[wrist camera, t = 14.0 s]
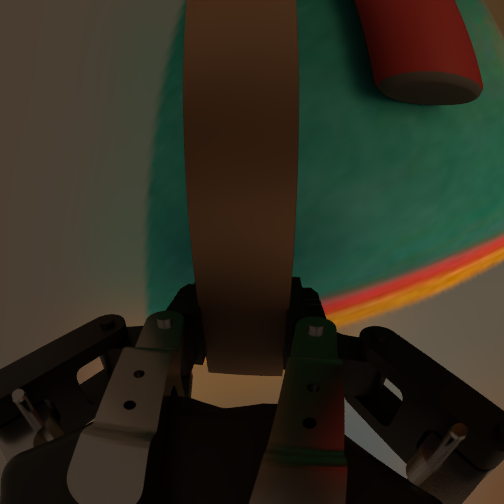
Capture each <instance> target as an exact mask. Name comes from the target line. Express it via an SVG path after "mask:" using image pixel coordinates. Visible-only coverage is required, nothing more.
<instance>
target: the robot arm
mask: <svg viewBox="0 0 504 504" xmlns="http://www.w3.org/2000/svg"><path fill="white" fill-rule="evenodd" d="M206 354H207V350H206V344H205V337H204V330H203V323H202V316H201V309H200V306H198V300H197V292H196V284H195V283H194V284H187V285H186V286H184V287H182V288H181V289H180V290H179V292H178V293H177V295H176V296H175V298H174V300H173V301H172V302H171V303H170V305H169V306H168V308H167V309H166V311H160V312H156V313H154V314H152V315H150V316H149V317H148V318H147V319H146V322H145V324H144V326H134V327H126V323H125V320H124V318H123V317H121V316H119V315H114V314H110V315H104V316H101V317H98V318H96V319H94V320H92V321H90V322H89V323H87V324H85V325H83V326H81V327H79V328H77V329H75V330H73V331H71V332H69V333H67V334H66V335H64V336H62V337H60V338H58V339H56V340H54V341H52V342H50V343H49V344H47V345H45V346H43V347H41V348H39V349H37V350H36V351H34V352H32V353H30V354H28V355H26V356H24V357H22V358H21V359H19V360H17V361H15V362H13V363H11V364H10V365H8V366H6V367H4V368H2V369H0V448H1V450H2V452H3V454H4V456H5V458H6V459H7V461H8V463H7V464H6V466H5V468H4V470H3V473H2V477H1V496H0V504H462V503H463V502H464V501H465V500H466V498H467V497H468V496H469V495H470V494H471V492H473V490H474V489H475V488H476V487H477V485H478V484H479V483H480V482H481V480H482V479H484V478H485V477H486V476H487V475H488V474H489V473H490V472H491V471H492V470H494V469H495V468H496V466H498V465H499V464H500V463H501V462H502V461H503V460H504V411H503V410H502V409H500V408H499V407H498V406H496V405H495V404H494V403H492V402H491V401H489V400H488V399H487V398H486V397H484V396H483V395H481V394H480V393H479V392H477V391H476V390H475V389H473V388H472V387H470V386H469V385H468V384H466V383H465V382H464V381H462V380H461V379H459V378H458V377H457V376H455V375H454V374H453V373H451V372H449V371H448V370H447V369H446V368H444V367H443V366H441V365H440V364H438V363H437V362H436V361H434V360H433V359H432V358H430V357H429V356H427V355H426V354H424V353H423V352H422V351H420V350H419V349H417V348H416V347H415V346H413V345H412V344H410V343H409V342H407V341H406V340H404V339H403V338H402V337H400V336H399V335H397V334H396V333H395V332H393V331H392V330H390V329H387V328H384V327H380V326H371V327H366V328H364V329H363V330H362V331H361V332H360V335H359V337H354V336H348V335H343V334H340V333H338V332H337V330H336V326H335V324H334V323H333V322H332V321H330V320H328V319H326V316H325V313H324V310H323V307H322V305H321V302H320V299H319V296H318V293H317V292H316V291H314V290H313V289H312V288H302V285H301V281H300V277H292V282H291V294H290V306H289V310H287V317H286V328H285V339H284V349H283V369H284V370H285V374H284V379H283V384H282V388H281V392H280V397H279V401H278V404H258V405H250V406H243V407H234V408H220V407H217V406H214V405H210V404H207V403H204V402H201V401H197V400H195V399H192V398H191V391H192V379H193V375H192V368H193V365H194V364H197V365H203V363H204V360H205V357H206ZM99 356H100V359H101V361H102V364H103V367H104V369H103V370H102V371H100V372H99V373H97V374H96V375H94V376H93V377H91V378H89V379H88V380H86V381H85V382H83V383H82V384H80V385H79V383H78V381H77V372H78V370H79V369H80V368H81V367H83V366H84V365H86V364H88V363H89V362H91V361H93V360H94V359H96V358H97V357H99ZM386 378H387V379H388V380H389V381H390V382H392V383H393V384H394V385H395V386H396V387H397V388H398V389H399V390H400V391H401V393H402V396H403V401H401V400H400V399H399V398H398V397H397V396H396V395H395V394H394V393H393V392H391V391H390V390H389V389H388V388H387V387H386V386H385V385H384V382H385V379H386ZM344 397H345V399H346V401H347V402H348V403H349V404H350V405H351V406H352V407H353V408H354V409H355V410H356V412H357V413H358V414H359V415H360V416H361V417H362V418H363V419H364V420H365V421H366V422H367V423H368V424H369V425H370V427H371V428H372V429H373V430H374V431H375V432H376V433H377V434H378V435H379V436H380V437H381V438H382V439H383V440H384V441H385V442H386V443H387V444H388V445H389V446H390V448H391V449H392V450H393V451H394V452H395V453H396V454H397V455H398V456H399V457H400V458H401V459H402V460H403V461H404V462H405V463H406V464H407V465H406V474H407V476H408V478H407V479H406V478H404V477H402V476H401V475H399V474H398V473H396V472H395V471H394V470H392V469H391V468H389V467H388V466H386V465H385V464H384V463H382V462H381V461H379V460H378V459H376V458H375V457H374V456H372V455H371V454H370V453H368V452H367V451H366V450H364V449H363V448H362V447H360V446H359V445H358V444H356V443H355V442H354V441H352V440H351V439H350V438H349V437H347V436H346V435H345V434H344ZM94 418H95V419H94ZM93 419H94V421H93V422H91V423H89V422H90V421H91V420H93ZM87 423H89V424H87ZM86 424H87V425H86ZM84 425H85V426H84Z"/></svg>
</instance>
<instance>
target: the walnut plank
mask: <svg viewBox="0 0 504 504" xmlns="http://www.w3.org/2000/svg"><path fill="white" fill-rule="evenodd" d="M183 115H184V149H185V170H186V187H187V202H188V215H189V227H190V238H191V248H192V258H193V267H194V276H195V284H196V292H197V300H198V306H200V309H201V316H202V323H203V330H204V337H205V344H206V350H207V354H206V360H207V365H208V371H209V372H211V373H224V374H238V375H260V376H282V373H283V349H284V339H285V328H286V317H287V310H289V306H290V294H291V282H292V268H293V254H294V238H295V221H296V201H297V176H298V138H299V64H298V29H297V8H296V0H187V1H186V15H185V34H184V66H183Z"/></svg>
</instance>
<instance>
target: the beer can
mask: <svg viewBox="0 0 504 504" xmlns="http://www.w3.org/2000/svg"><path fill="white" fill-rule="evenodd" d="M354 1H355V4H356V7H357V10H358V14H359V17H360V20H361V24H362V28H363V31H364V35H365V39H366V43H367V47H368V52H369V56H370V61H371V65H372V70H373V76H374V81H375V85H376V87H377V88H378V89H379V90H380V91H381V92H382V93H383V94H384V95H386V96H387V97H390V98H392V99H394V100H398V101H402V102H406V103H414V104H424V105H456V104H463V103H468V102H471V101H473V100H475V99H477V98H478V97H479V96H480V94H481V92H482V90H483V83H482V78H481V74H480V70H479V66H478V63H477V59H476V56H475V52H474V49H473V46H472V43H471V40H470V37H469V34H468V31H467V29H466V26H465V24H464V21H463V18H462V16H461V14H460V11H459V9H458V7H457V4H456V2H455V0H354Z"/></svg>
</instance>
